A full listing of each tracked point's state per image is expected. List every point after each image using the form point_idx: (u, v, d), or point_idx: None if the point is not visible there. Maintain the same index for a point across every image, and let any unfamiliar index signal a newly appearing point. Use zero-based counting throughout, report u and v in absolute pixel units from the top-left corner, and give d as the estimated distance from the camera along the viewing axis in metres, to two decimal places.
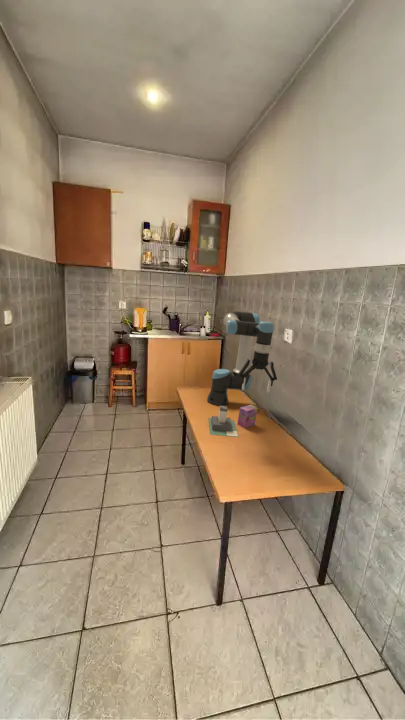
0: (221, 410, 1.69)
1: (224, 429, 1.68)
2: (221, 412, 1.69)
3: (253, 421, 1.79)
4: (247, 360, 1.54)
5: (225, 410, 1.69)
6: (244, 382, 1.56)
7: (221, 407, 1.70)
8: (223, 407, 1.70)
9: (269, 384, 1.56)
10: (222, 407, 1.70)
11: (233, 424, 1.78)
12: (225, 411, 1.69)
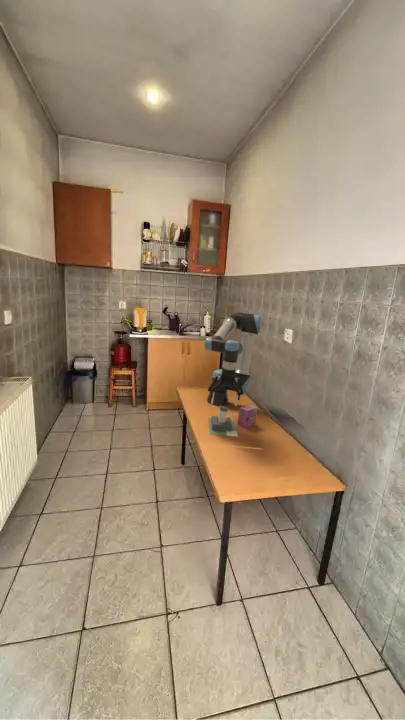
0: (221, 410, 1.69)
1: (224, 429, 1.68)
2: (221, 412, 1.69)
3: (253, 421, 1.79)
4: (215, 376, 1.65)
5: (225, 410, 1.69)
6: (213, 396, 1.67)
7: (221, 407, 1.70)
8: (223, 407, 1.70)
9: (236, 398, 1.68)
10: (222, 407, 1.70)
11: (233, 424, 1.78)
12: (225, 411, 1.69)
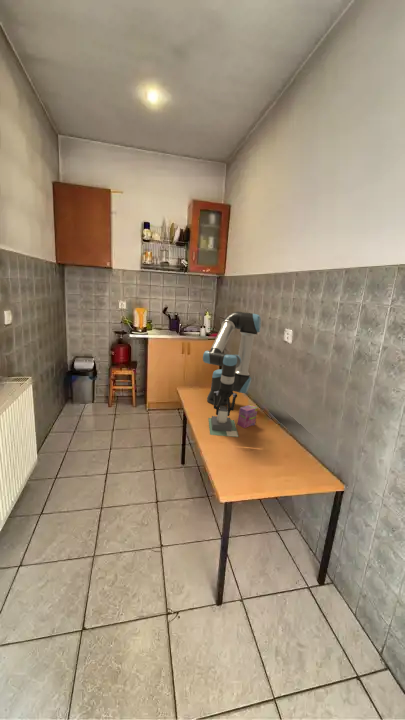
0: (221, 410, 1.69)
1: (224, 429, 1.68)
2: (221, 412, 1.69)
3: (253, 421, 1.79)
4: (213, 393, 1.68)
5: (225, 410, 1.69)
6: (218, 414, 1.70)
7: (221, 407, 1.70)
8: (223, 407, 1.70)
9: None
10: (222, 407, 1.71)
11: (233, 424, 1.78)
12: (225, 411, 1.69)
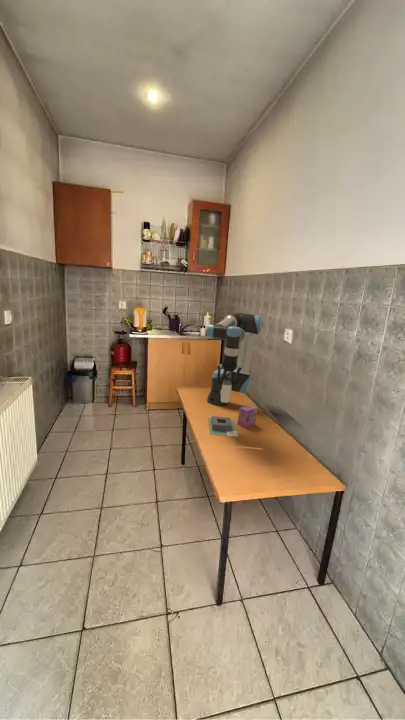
0: (225, 384, 1.65)
1: (224, 429, 1.68)
2: (225, 386, 1.65)
3: (253, 421, 1.79)
4: (217, 366, 1.64)
5: (229, 384, 1.65)
6: (222, 388, 1.66)
7: (225, 381, 1.66)
8: (227, 381, 1.66)
9: (230, 388, 1.66)
10: (225, 381, 1.67)
11: (233, 424, 1.78)
12: (229, 385, 1.65)
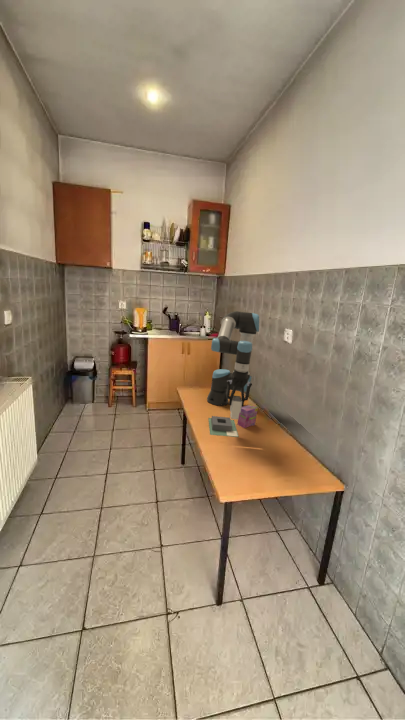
0: (235, 400, 1.59)
1: (224, 429, 1.68)
2: (235, 402, 1.59)
3: (253, 421, 1.79)
4: (227, 382, 1.58)
5: (239, 400, 1.59)
6: (232, 404, 1.60)
7: (235, 397, 1.60)
8: (237, 397, 1.60)
9: None
10: (235, 396, 1.61)
11: (233, 424, 1.78)
12: (239, 401, 1.59)
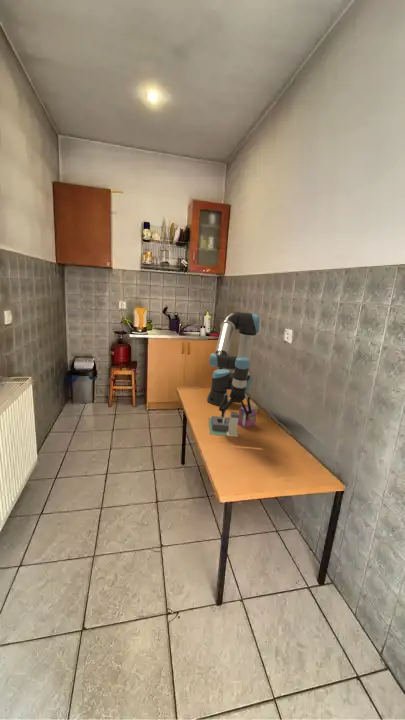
0: (232, 416, 1.61)
1: (224, 429, 1.68)
2: (232, 418, 1.62)
3: (253, 421, 1.79)
4: (225, 395, 1.60)
5: (236, 416, 1.62)
6: (224, 416, 1.62)
7: (232, 413, 1.63)
8: (235, 413, 1.63)
9: (244, 418, 1.63)
10: (233, 413, 1.63)
11: None
12: (236, 417, 1.62)
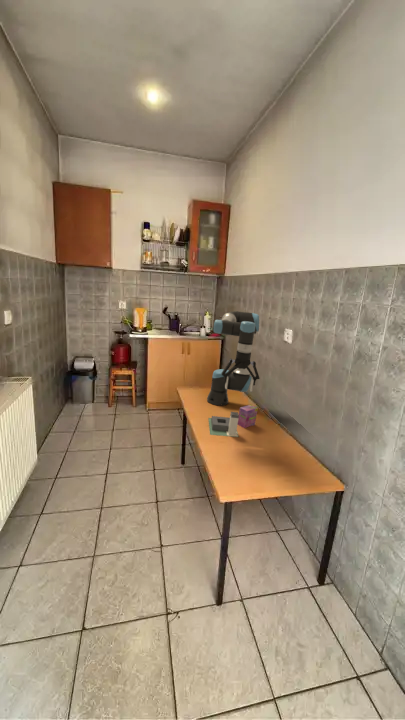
0: (232, 416, 1.61)
1: (224, 429, 1.68)
2: (232, 419, 1.62)
3: (253, 421, 1.79)
4: (229, 360, 1.56)
5: (236, 416, 1.61)
6: (227, 381, 1.58)
7: (232, 413, 1.63)
8: (235, 413, 1.63)
9: (252, 383, 1.58)
10: (233, 413, 1.63)
11: None
12: (236, 417, 1.62)
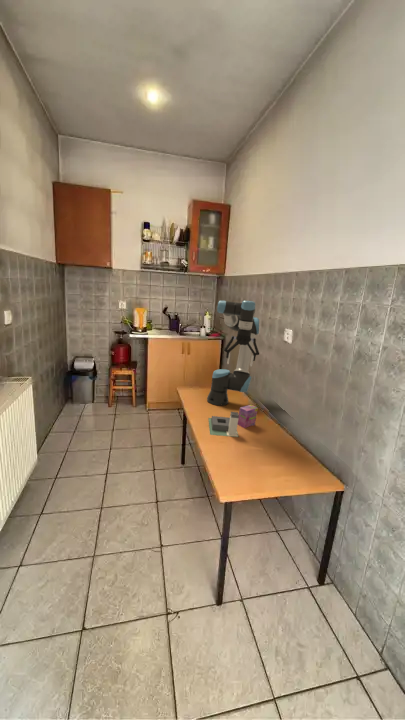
0: (232, 416, 1.61)
1: (224, 429, 1.68)
2: (232, 419, 1.62)
3: (253, 421, 1.79)
4: (231, 336, 1.68)
5: (236, 416, 1.61)
6: (229, 357, 1.70)
7: (232, 413, 1.63)
8: (235, 413, 1.63)
9: (252, 359, 1.71)
10: (233, 413, 1.63)
11: None
12: (236, 417, 1.62)
